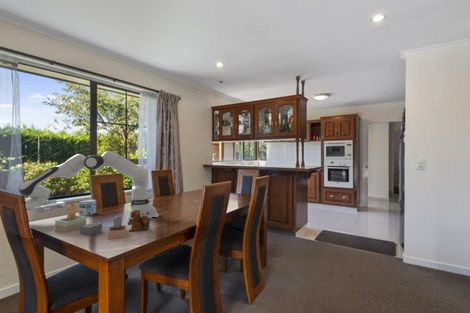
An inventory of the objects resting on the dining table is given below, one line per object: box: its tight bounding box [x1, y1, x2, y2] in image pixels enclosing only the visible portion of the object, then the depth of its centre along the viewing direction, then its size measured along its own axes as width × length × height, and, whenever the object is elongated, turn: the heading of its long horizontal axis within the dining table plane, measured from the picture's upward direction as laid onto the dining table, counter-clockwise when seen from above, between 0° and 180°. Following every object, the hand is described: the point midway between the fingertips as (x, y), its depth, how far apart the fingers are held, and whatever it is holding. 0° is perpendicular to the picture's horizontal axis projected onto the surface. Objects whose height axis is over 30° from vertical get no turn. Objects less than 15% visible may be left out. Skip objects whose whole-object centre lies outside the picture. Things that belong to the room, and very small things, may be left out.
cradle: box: [79, 222, 103, 236], centre depth 148 cm, size 9×7×5 cm
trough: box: [54, 215, 87, 234], centre depth 156 cm, size 14×9×7 cm, turn 164°
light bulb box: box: [78, 199, 97, 217], centre depth 195 cm, size 11×7×11 cm, turn 168°
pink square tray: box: [107, 224, 128, 240], centre depth 144 cm, size 10×10×5 cm
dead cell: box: [112, 215, 123, 231], centre depth 144 cm, size 4×4×12 cm
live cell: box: [66, 203, 77, 221], centre depth 156 cm, size 4×4×12 cm
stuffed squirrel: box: [127, 210, 151, 233], centre depth 157 cm, size 10×14×13 cm
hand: (57, 208), depth 159 cm, fingers open, 8 cm apart
